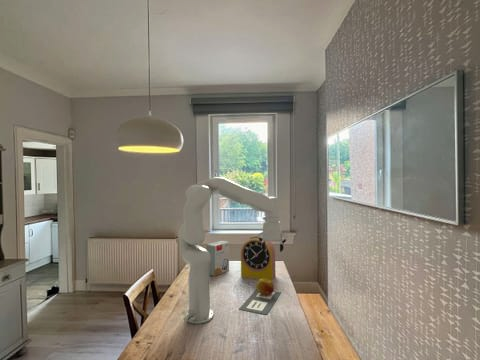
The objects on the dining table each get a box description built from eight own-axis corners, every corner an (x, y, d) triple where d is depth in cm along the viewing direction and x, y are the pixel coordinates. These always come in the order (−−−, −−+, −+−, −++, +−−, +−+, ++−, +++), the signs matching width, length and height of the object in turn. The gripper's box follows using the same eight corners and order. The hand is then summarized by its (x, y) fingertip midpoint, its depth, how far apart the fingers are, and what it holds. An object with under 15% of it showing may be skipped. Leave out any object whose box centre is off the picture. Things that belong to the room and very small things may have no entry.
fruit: (277, 294, 140) (277, 279, 140) (267, 299, 133) (267, 284, 134) (264, 289, 147) (263, 274, 147) (253, 294, 140) (253, 279, 140)
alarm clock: (240, 276, 168) (240, 235, 168) (245, 271, 176) (245, 233, 177) (272, 280, 160) (271, 238, 160) (275, 275, 168) (275, 235, 168)
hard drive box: (214, 276, 168) (214, 246, 168) (206, 274, 173) (205, 244, 173) (229, 270, 180) (229, 241, 181) (221, 268, 185) (221, 240, 185)
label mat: (266, 315, 119) (266, 314, 119) (238, 309, 124) (238, 308, 124) (281, 292, 143) (281, 291, 143) (257, 288, 148) (257, 287, 148)
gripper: (254, 220, 142) (255, 251, 142) (286, 221, 136) (286, 253, 136) (258, 218, 149) (259, 247, 149) (288, 218, 143) (289, 249, 143)
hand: (272, 250), depth 142 cm, fingers open, 9 cm apart
